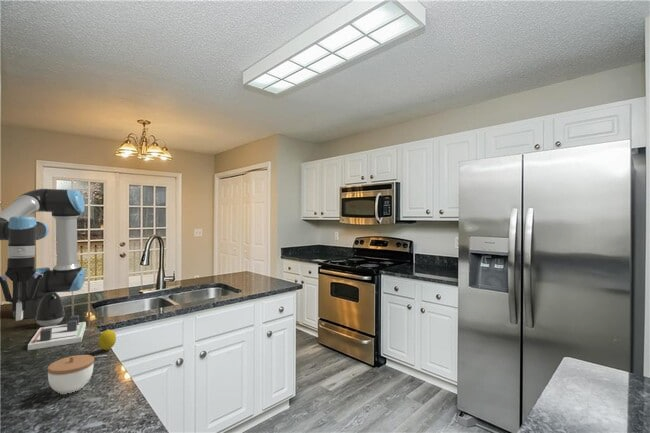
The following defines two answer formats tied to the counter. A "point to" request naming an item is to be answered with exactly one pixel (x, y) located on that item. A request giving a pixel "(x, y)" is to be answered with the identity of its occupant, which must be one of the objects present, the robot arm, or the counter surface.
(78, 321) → the block
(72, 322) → the block
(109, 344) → the lemon
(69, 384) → the lidded jar
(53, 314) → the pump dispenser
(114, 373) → the counter surface
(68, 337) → the breaker panel
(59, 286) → the robot arm
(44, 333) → the switch
